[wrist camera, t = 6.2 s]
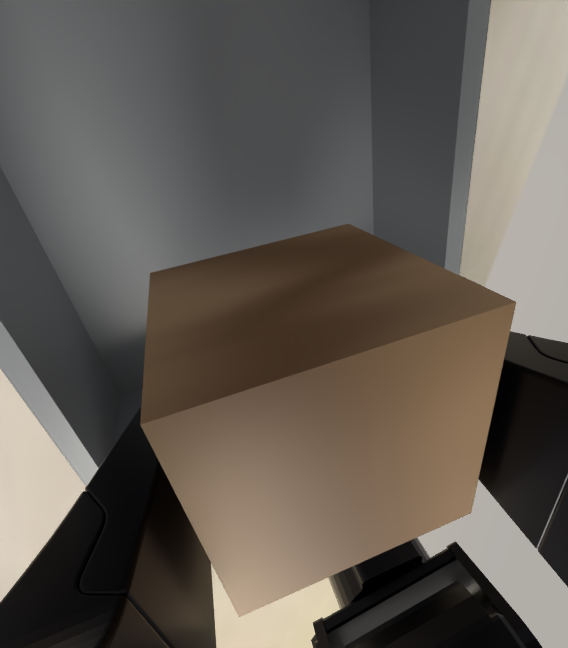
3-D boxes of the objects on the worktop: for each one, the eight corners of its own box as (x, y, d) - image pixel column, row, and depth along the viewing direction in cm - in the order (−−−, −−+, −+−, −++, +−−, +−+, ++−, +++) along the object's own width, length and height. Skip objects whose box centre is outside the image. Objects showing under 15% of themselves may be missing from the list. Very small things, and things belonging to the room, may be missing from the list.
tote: (379, 318, 18) (447, 374, 14) (112, 401, 15) (96, 500, 11) (372, -319, 9) (577, -749, 4) (-305, -363, 6) (-1308, -1439, 2)
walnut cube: (348, 223, 9) (515, 301, 5) (357, 374, 12) (470, 512, 7) (150, 272, 8) (139, 424, 4) (207, 425, 11) (238, 617, 6)
